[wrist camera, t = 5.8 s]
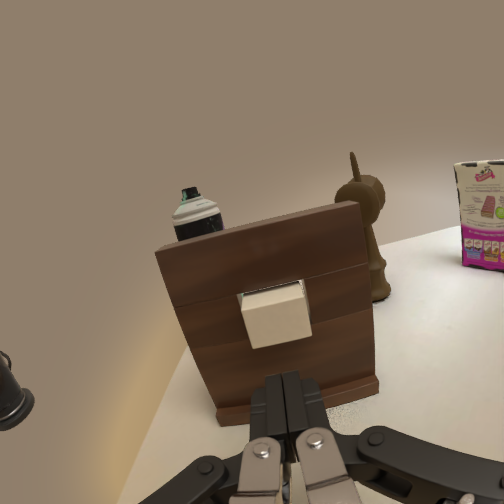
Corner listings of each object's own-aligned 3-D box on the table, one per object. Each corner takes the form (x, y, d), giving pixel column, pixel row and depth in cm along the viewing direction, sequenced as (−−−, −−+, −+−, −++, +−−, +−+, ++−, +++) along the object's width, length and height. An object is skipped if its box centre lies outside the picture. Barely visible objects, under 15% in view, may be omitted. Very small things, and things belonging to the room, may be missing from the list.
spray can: (211, 357, 33) (157, 196, 28) (218, 335, 38) (174, 193, 33) (254, 351, 32) (206, 181, 27) (256, 328, 37) (216, 181, 33)
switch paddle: (312, 336, 17) (304, 295, 17) (252, 349, 18) (240, 310, 17) (305, 316, 20) (298, 280, 19) (253, 328, 20) (242, 293, 20)
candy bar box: (522, 263, 28) (518, 158, 24) (518, 275, 26) (515, 160, 22) (469, 255, 38) (461, 160, 34) (460, 265, 36) (452, 163, 32)
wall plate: (378, 392, 20) (364, 203, 16) (220, 426, 21) (148, 256, 17) (353, 345, 28) (331, 196, 24) (228, 373, 29) (180, 233, 25)
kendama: (395, 279, 39) (376, 148, 35) (392, 311, 31) (369, 146, 27) (360, 282, 42) (337, 155, 38) (348, 312, 35) (319, 156, 30)
